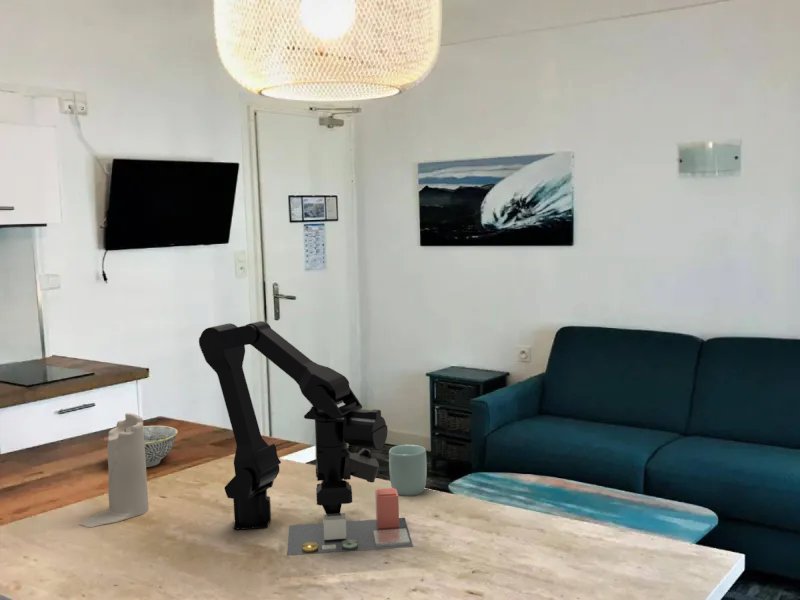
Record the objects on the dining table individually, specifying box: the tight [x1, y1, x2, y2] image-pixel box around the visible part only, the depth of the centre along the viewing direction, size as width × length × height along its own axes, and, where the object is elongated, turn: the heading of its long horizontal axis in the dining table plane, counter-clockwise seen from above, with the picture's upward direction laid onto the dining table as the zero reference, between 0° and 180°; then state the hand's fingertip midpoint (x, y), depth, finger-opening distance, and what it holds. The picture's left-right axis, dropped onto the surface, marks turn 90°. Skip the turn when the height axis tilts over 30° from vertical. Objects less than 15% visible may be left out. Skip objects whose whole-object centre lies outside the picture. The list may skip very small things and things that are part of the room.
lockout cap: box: [374, 487, 400, 528], centre depth 157 cm, size 4×4×6 cm
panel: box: [286, 517, 414, 557], centre depth 152 cm, size 22×14×2 cm, turn 96°
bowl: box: [143, 425, 178, 468], centre depth 204 cm, size 16×16×8 cm
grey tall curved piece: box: [79, 412, 149, 528], centre depth 167 cm, size 7×14×20 cm, turn 137°
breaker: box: [322, 512, 347, 540], centre depth 151 cm, size 4×3×4 cm
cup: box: [388, 444, 427, 496], centre depth 175 cm, size 8×8×10 cm
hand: (334, 525), depth 154 cm, fingers closed
